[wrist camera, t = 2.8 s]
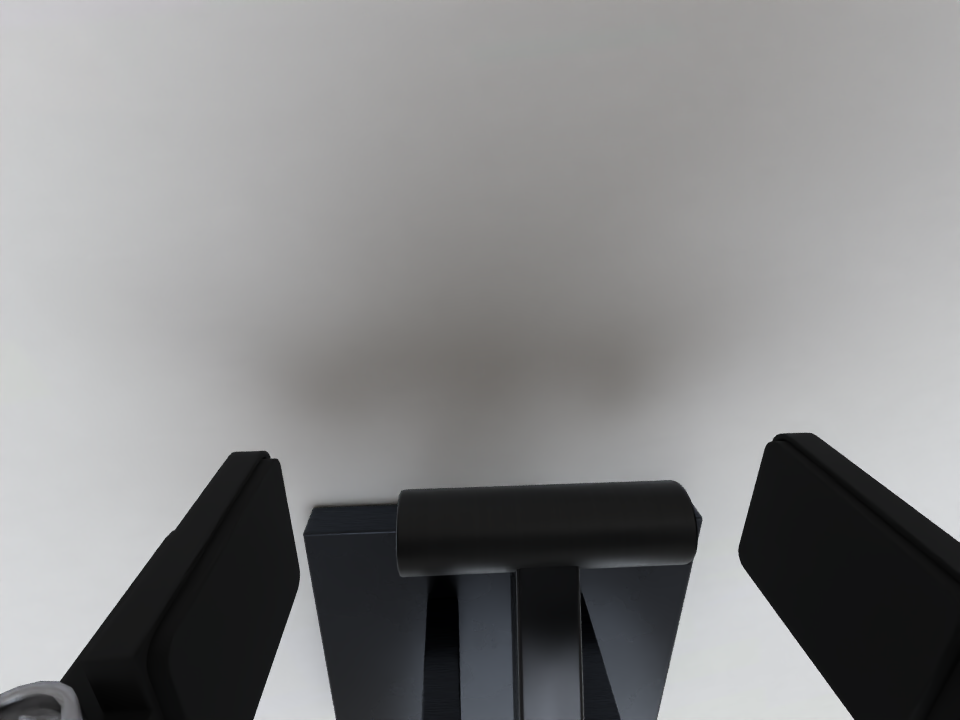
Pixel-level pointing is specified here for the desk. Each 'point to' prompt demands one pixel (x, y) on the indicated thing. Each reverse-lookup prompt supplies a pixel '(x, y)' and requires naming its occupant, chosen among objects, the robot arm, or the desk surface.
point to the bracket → (472, 629)
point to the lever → (544, 562)
